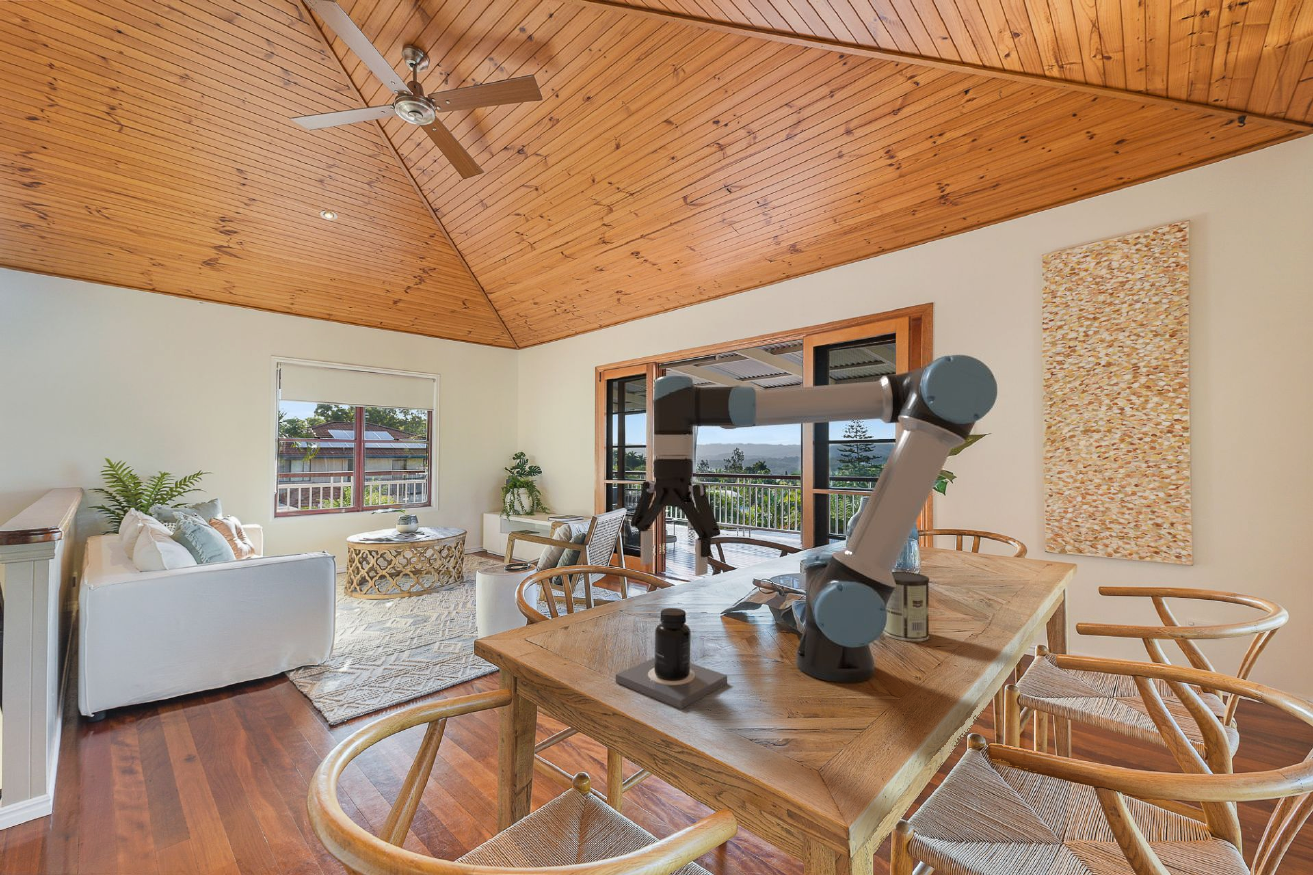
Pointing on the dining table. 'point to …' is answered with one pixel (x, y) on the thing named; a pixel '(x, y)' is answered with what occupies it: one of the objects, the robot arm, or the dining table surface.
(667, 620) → the supplement bottle
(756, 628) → the dining table surface
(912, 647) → the dining table surface
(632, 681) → the board
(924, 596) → the coffee can
